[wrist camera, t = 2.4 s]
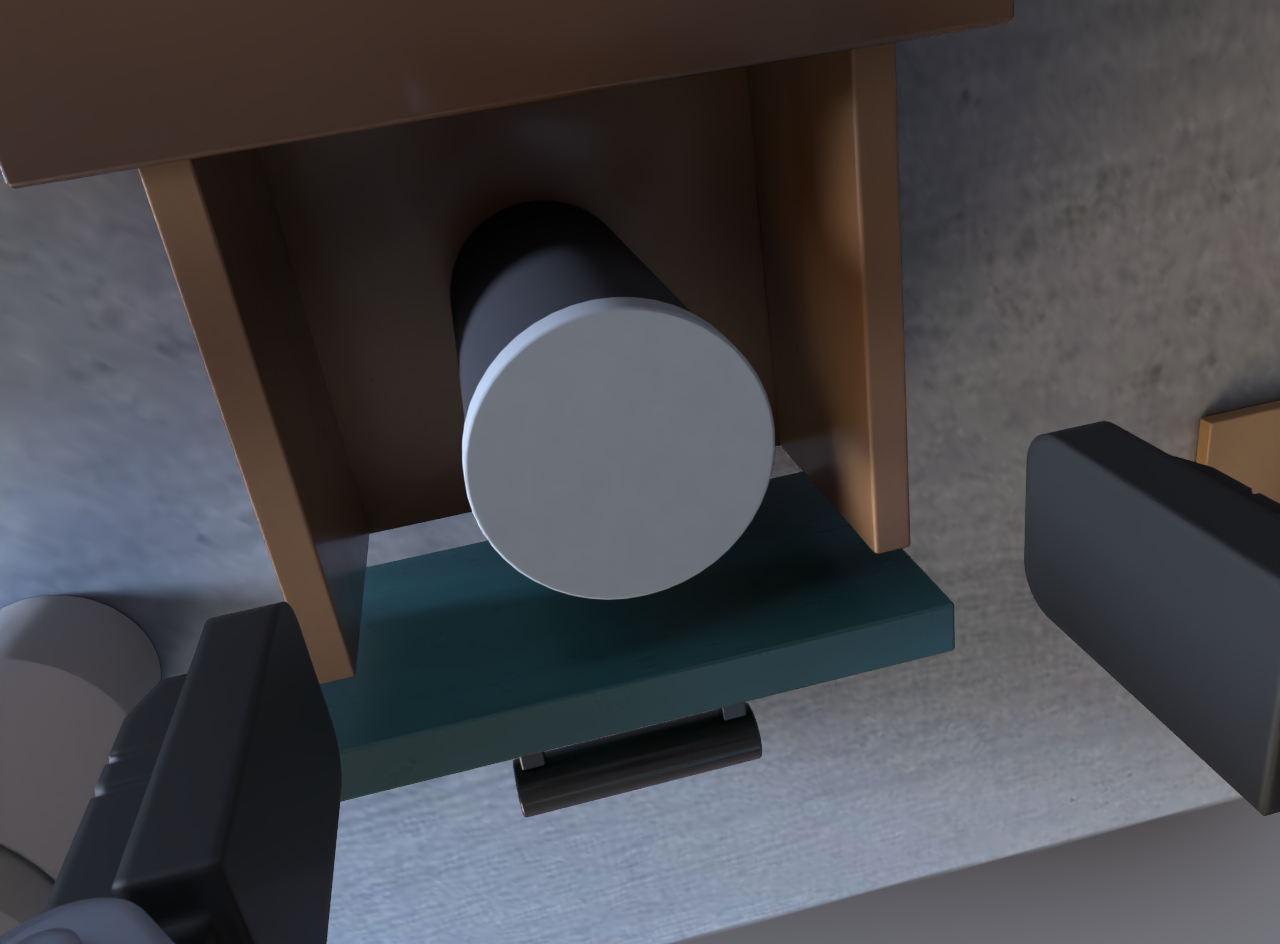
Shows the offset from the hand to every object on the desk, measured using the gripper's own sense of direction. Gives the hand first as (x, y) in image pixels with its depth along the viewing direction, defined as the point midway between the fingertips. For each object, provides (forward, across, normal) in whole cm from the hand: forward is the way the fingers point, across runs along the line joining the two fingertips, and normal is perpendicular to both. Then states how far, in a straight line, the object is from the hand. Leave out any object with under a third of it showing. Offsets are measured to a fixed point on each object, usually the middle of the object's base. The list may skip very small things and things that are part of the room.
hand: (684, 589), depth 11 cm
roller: (+14, 0, 0) cm, 14 cm away
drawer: (+15, 0, +2) cm, 15 cm away
